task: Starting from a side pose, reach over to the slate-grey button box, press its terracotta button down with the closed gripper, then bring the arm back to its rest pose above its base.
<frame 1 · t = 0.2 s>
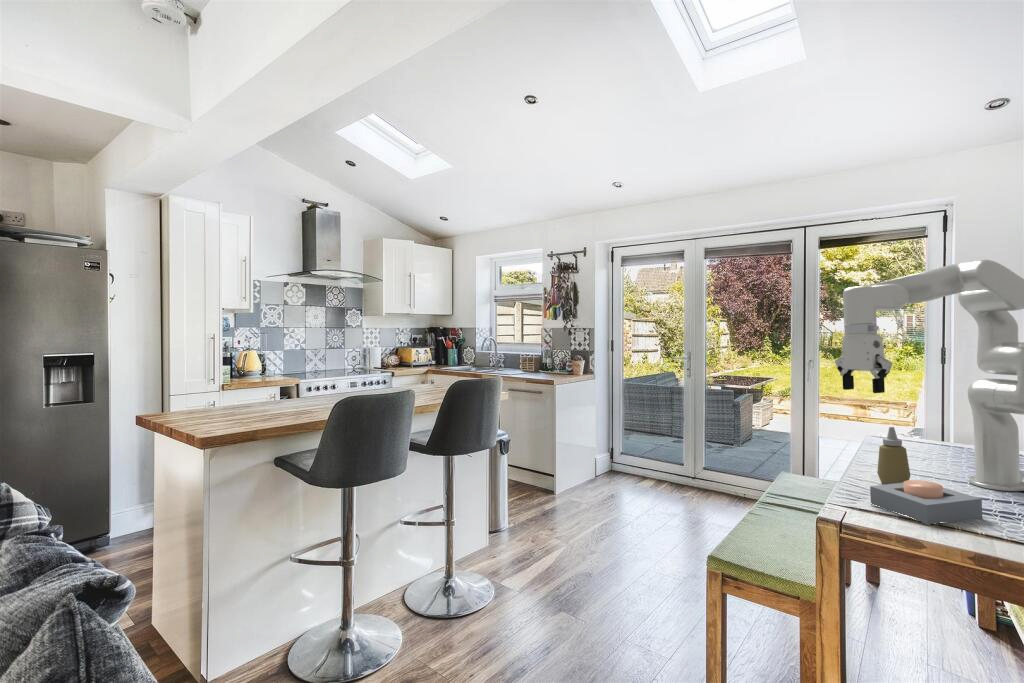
hand: (863, 391, 140), 31 cm above the table, tool pointing down, fingers open, 9 cm apart
squeeze bottle: (894, 486, 151), on the table
button base: (923, 511, 131), on the table
button: (923, 494, 131), point 4 cm above the table, slide at 0.0 cm
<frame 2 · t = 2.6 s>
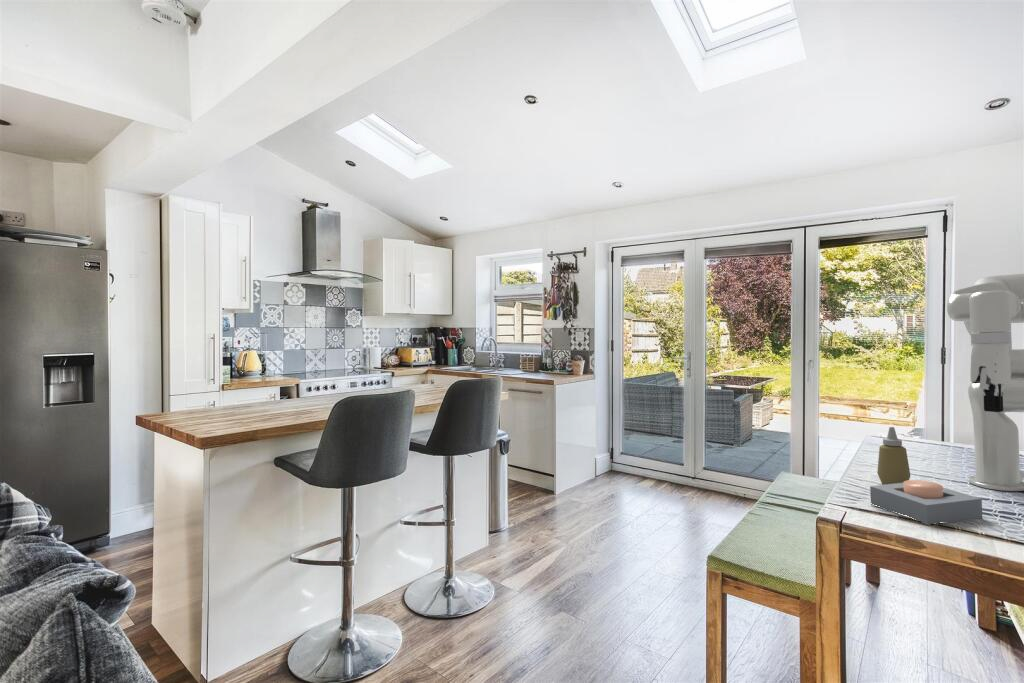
hand: (993, 411, 127), 26 cm above the table, tool pointing down, fingers closed
nothing on the table moved.
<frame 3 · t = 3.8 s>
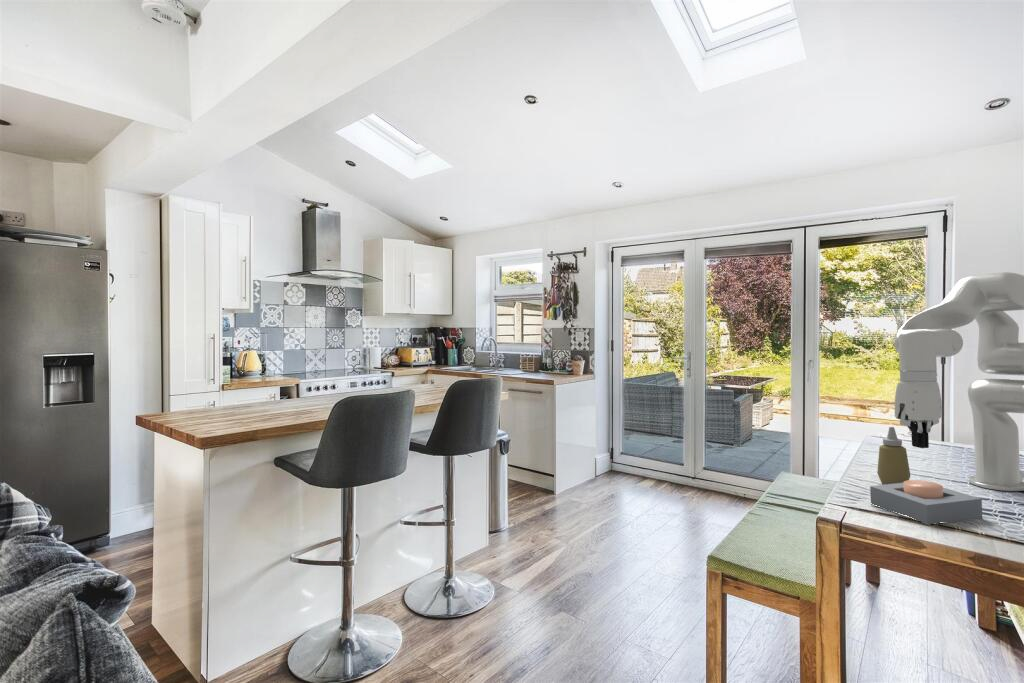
hand: (920, 447, 131), 17 cm above the table, tool pointing down, fingers closed
nothing on the table moved.
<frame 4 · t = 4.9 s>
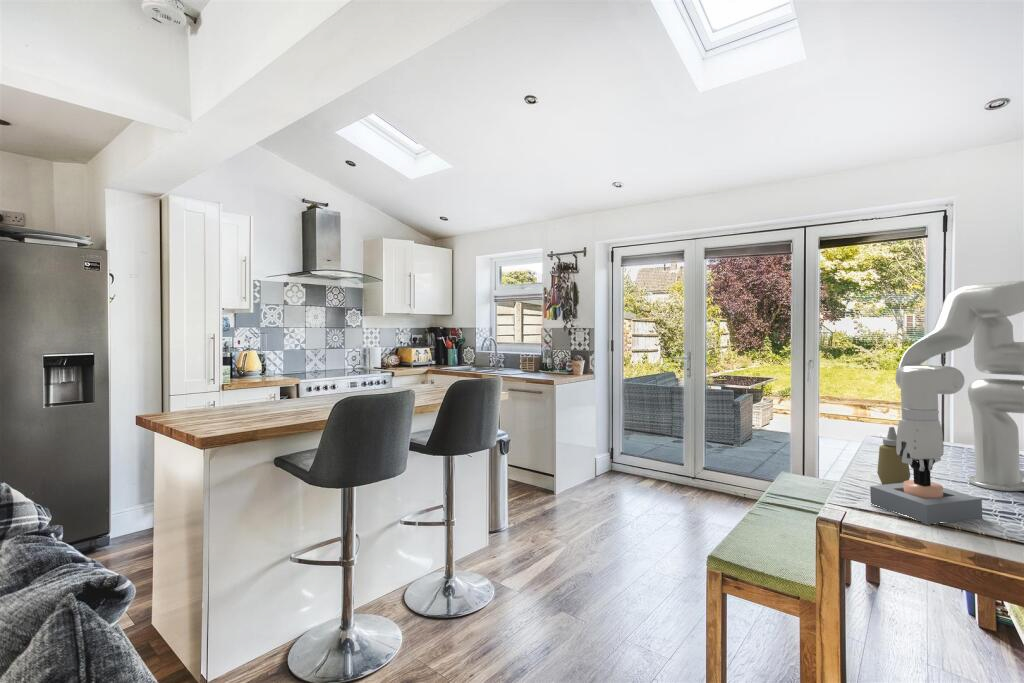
hand: (922, 484, 131), 7 cm above the table, tool pointing down, fingers closed
button: (923, 494, 131), point 4 cm above the table, slide at 0.0 cm, touching gripper
everything else where it was.
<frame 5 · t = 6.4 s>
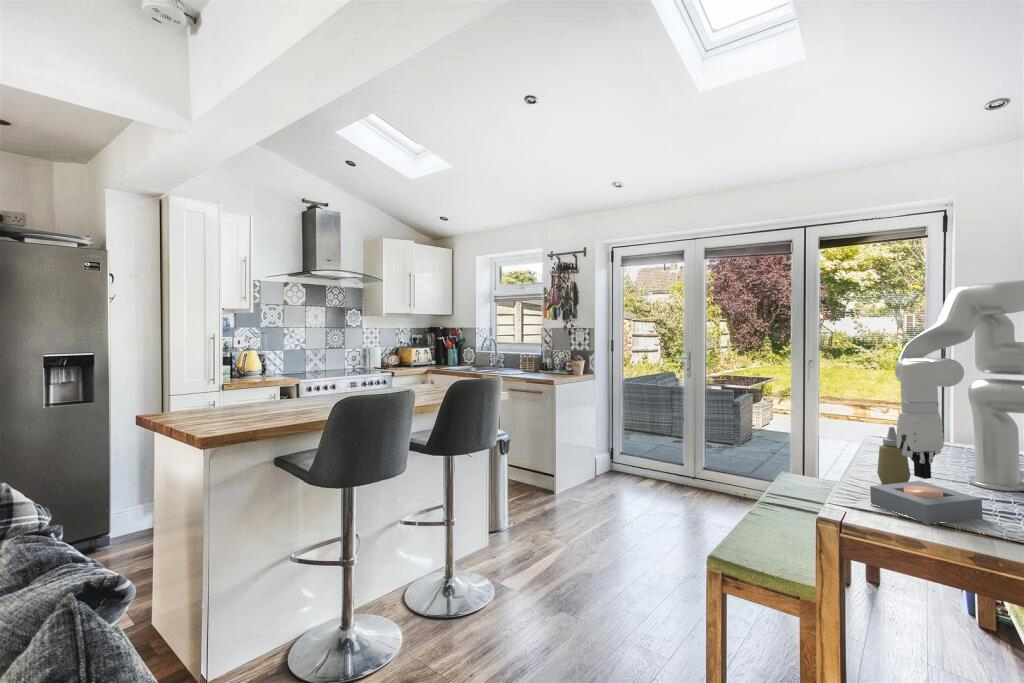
hand: (922, 477, 131), 9 cm above the table, tool pointing down, fingers closed
button: (923, 499, 131), point 3 cm above the table, slide at 1.5 cm
everything else where it was.
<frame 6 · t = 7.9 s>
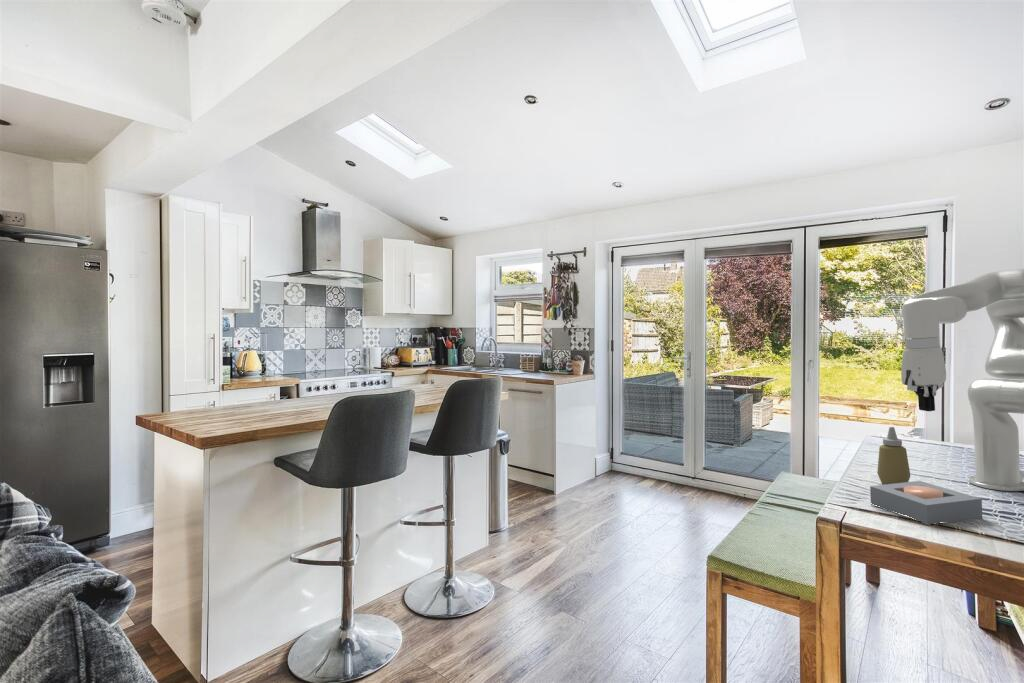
hand: (927, 410, 137), 25 cm above the table, tool pointing down, fingers closed
nothing on the table moved.
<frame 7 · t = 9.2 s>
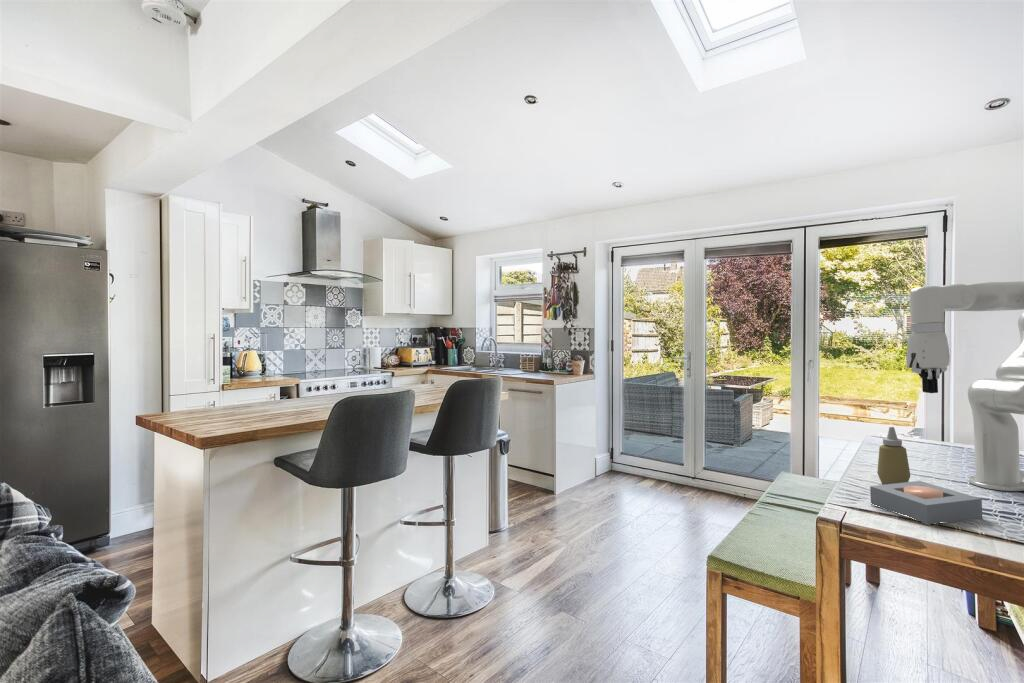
hand: (930, 392, 144), 29 cm above the table, tool pointing down, fingers closed
nothing on the table moved.
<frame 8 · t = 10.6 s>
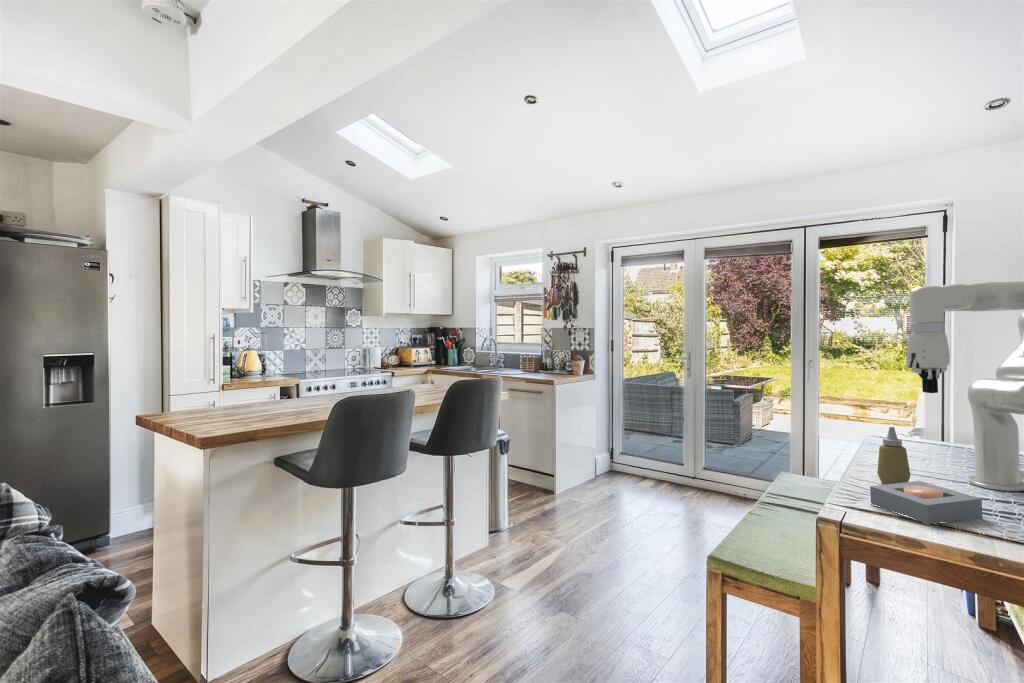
hand: (930, 392, 144), 29 cm above the table, tool pointing down, fingers closed
nothing on the table moved.
at the end: button slide at 1.5 cm; squeeze bottle moved 0.2 cm from its start; squeeze bottle tilted 0° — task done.
